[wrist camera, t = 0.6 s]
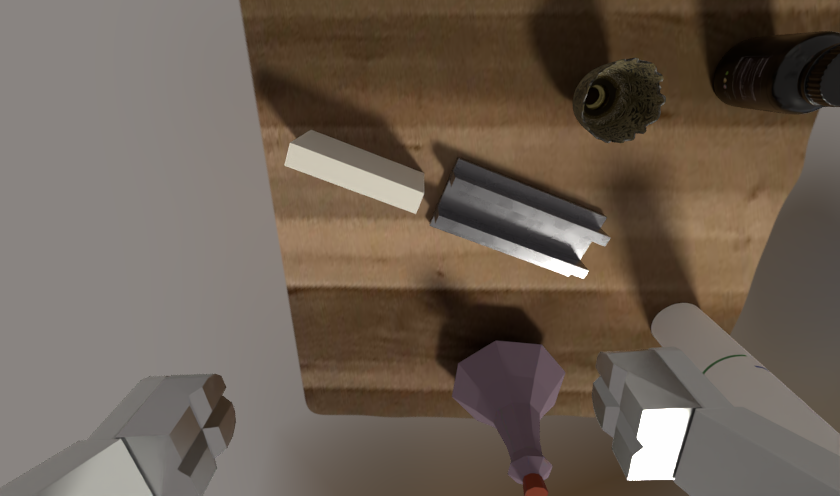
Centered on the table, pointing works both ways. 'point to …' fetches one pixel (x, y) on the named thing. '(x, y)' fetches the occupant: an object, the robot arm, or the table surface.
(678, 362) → the robot arm
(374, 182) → the door panel
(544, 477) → the flask
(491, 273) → the table surface
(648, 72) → the dark grey small vase
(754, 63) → the supplement bottle
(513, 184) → the floor track
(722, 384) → the cylindrical container
